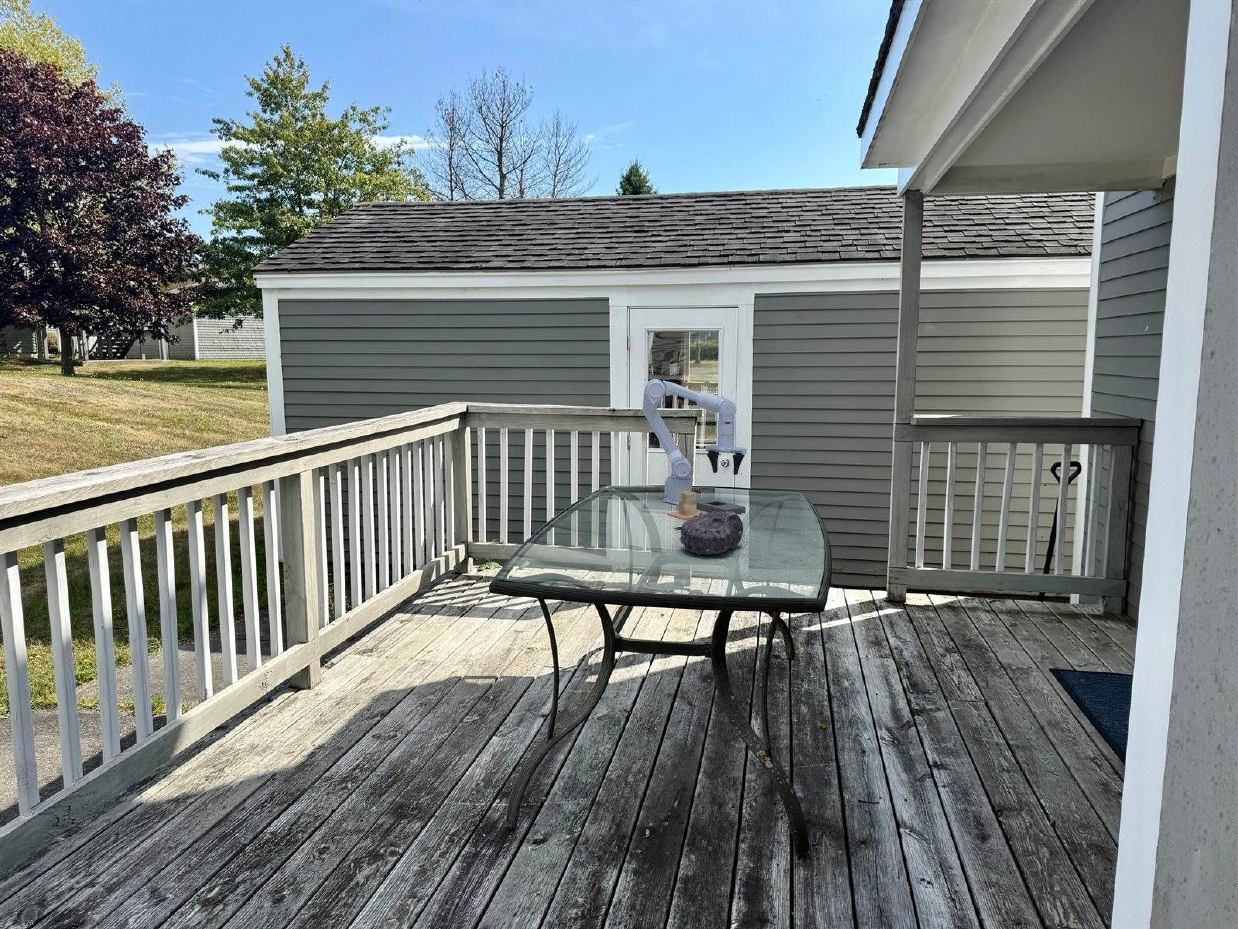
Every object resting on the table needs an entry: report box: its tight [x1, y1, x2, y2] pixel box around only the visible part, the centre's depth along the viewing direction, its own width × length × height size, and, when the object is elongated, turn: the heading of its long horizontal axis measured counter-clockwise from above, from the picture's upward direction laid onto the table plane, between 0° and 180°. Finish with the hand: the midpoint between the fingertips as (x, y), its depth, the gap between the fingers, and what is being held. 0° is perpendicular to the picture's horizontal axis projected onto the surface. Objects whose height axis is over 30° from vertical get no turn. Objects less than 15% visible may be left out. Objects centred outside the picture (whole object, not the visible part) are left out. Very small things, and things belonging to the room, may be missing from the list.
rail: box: [696, 497, 747, 515], centre depth 284 cm, size 18×9×2 cm, turn 36°
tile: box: [666, 510, 701, 521], centre depth 275 cm, size 9×9×1 cm
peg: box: [678, 490, 698, 516], centre depth 274 cm, size 4×4×7 cm
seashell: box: [678, 511, 744, 556], centre depth 232 cm, size 20×13×15 cm
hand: (725, 473), depth 294 cm, fingers open, 7 cm apart
